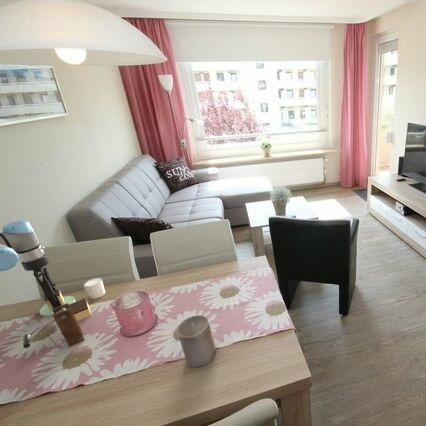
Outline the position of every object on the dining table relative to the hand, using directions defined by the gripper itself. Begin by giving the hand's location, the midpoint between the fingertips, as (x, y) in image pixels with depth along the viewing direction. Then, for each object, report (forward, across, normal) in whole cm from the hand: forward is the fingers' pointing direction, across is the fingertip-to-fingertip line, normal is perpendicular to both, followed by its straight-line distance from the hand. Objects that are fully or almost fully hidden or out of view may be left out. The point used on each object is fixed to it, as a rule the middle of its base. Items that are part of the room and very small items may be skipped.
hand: (56, 303), depth 126 cm
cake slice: (0, 0, 0) cm, 0 cm away
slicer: (-9, -31, +1) cm, 32 cm away
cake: (+2, -15, -6) cm, 16 cm away
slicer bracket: (+2, -31, -4) cm, 31 cm away
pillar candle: (+2, -70, -35) cm, 78 cm away
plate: (+2, 0, 0) cm, 2 cm away
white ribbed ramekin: (+2, -3, -14) cm, 14 cm away
